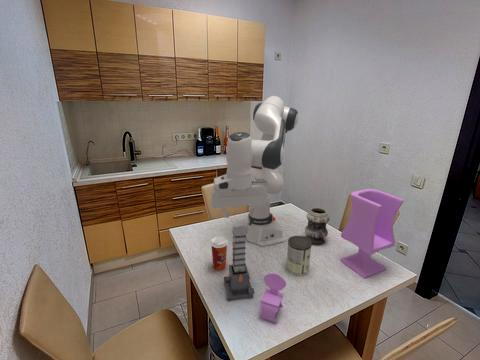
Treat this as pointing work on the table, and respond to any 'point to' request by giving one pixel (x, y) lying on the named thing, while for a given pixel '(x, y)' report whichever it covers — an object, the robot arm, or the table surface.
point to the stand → (238, 285)
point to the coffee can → (298, 255)
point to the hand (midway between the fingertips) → (239, 216)
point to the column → (239, 249)
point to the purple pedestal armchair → (370, 228)
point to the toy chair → (272, 296)
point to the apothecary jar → (317, 225)
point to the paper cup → (219, 252)
